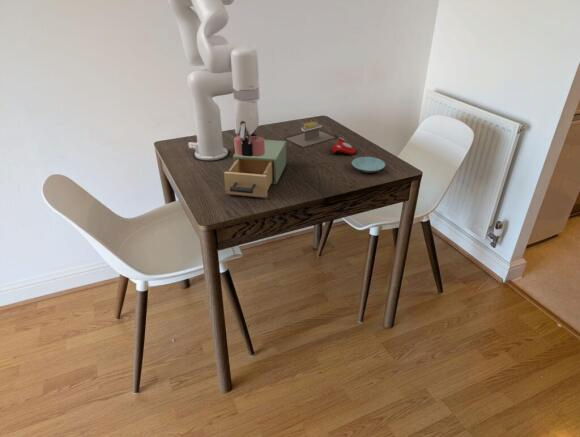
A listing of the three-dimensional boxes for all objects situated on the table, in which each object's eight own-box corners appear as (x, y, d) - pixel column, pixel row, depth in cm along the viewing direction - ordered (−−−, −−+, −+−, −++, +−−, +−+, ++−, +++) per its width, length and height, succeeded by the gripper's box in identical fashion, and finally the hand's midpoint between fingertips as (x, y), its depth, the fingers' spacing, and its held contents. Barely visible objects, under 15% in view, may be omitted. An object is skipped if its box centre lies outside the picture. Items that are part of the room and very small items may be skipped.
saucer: (384, 177, 148) (385, 171, 146) (350, 174, 149) (351, 168, 148) (384, 163, 158) (384, 157, 156) (351, 161, 159) (352, 155, 158)
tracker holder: (361, 150, 165) (342, 149, 160) (356, 159, 168) (338, 159, 162) (343, 134, 173) (325, 133, 167) (339, 143, 175) (321, 143, 169)
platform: (285, 138, 179) (285, 123, 176) (317, 129, 189) (318, 115, 185) (302, 147, 171) (303, 131, 168) (335, 137, 181) (336, 122, 177)
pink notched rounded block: (233, 154, 132) (231, 140, 130) (237, 149, 136) (236, 135, 133) (262, 156, 130) (262, 142, 128) (266, 151, 134) (265, 136, 132)
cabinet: (276, 184, 143) (275, 159, 138) (234, 180, 145) (232, 156, 141) (286, 164, 157) (286, 141, 152) (247, 161, 159) (246, 138, 154)
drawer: (262, 205, 129) (262, 183, 125) (220, 200, 131) (218, 179, 128) (277, 176, 146) (276, 156, 142) (239, 173, 148) (238, 153, 145)
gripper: (242, 86, 131) (245, 142, 141) (224, 101, 117) (229, 162, 127) (265, 87, 130) (267, 143, 140) (251, 102, 116) (254, 164, 125)
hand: (249, 152), depth 133 cm, fingers closed on pink notched rounded block, 4 cm apart
